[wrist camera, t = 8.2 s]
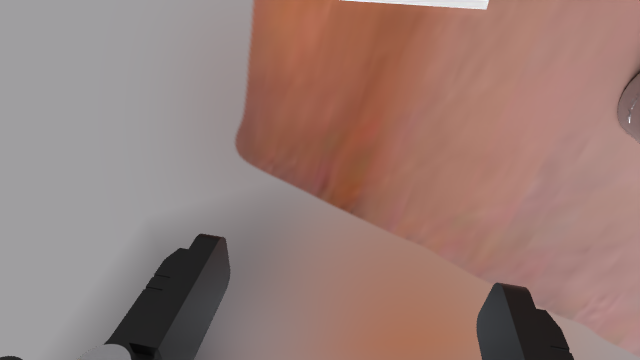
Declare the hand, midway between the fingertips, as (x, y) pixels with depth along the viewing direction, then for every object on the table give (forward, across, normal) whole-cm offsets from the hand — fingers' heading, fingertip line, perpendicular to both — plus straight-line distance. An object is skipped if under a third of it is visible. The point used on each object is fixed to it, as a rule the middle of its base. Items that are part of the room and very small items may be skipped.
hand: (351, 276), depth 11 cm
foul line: (+30, -2, -4) cm, 30 cm away
